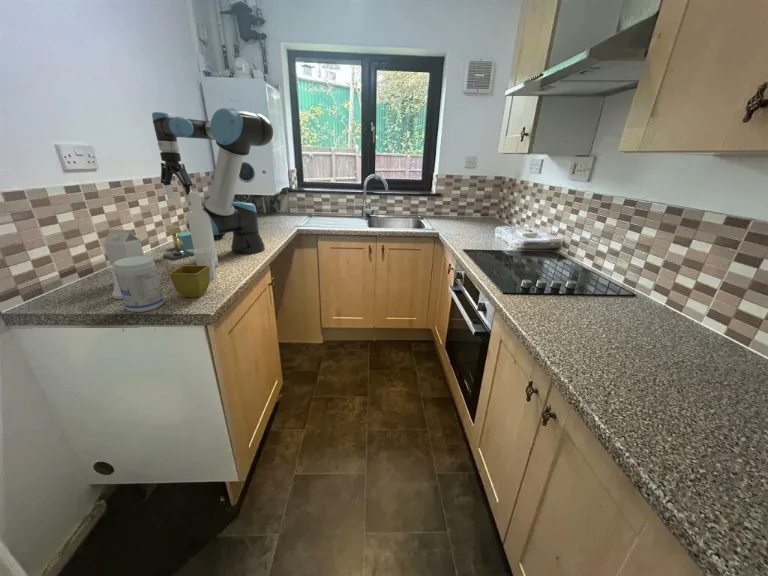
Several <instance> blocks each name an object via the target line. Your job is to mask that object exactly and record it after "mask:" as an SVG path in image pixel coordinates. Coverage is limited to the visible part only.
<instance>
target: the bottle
mask: <svg viewBox="0 0 768 576" xmlns="http://www.w3.org/2000/svg"><path fill="white" fill-rule="evenodd" d="M201 195H202V194H201V193H200V192H199V191H190V192H189V197H190V201H191V202H190V206H191V211H190V213H189V214H188V218H187V221H188V227H189V231H190V232H191V237H192V242H193V247H194V249H193V250H195V249H199V248H212V249H213V251H214V262H215V268H217V267H219V259H218V254H217V249H216V243H215V240H214V237H213V231H212V225H211V220H210V217H209V215H208V214H207V213H206V212H205V211H203V208H204V207H203V205H202V199H201V197H202V196H201ZM216 266H217V267H216Z"/></svg>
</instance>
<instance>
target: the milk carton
mask: <svg viewBox="0 0 768 576" xmlns="http://www.w3.org/2000/svg"><path fill="white" fill-rule="evenodd" d="M103 247H104V250H105V252H106V255H107V260H108V261H109V266H111V265H114V264H113V263H114V262H115V261H117V260H120V259H123V258H128V257H136V256H145V254H144V249H143V246H142V242H141V239H140V238H138V237H137V236H135V235H133V234H132V233H131V232H130V229H116V228H115V229H114V228H113V229H112V228H109V229H108V234H107V236H106V237H105V239H104V241H103Z"/></svg>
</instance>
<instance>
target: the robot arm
mask: <svg viewBox="0 0 768 576" xmlns="http://www.w3.org/2000/svg"><path fill="white" fill-rule="evenodd" d="M151 117H152V123H153V127H154V133H155V136H156V139H157V140H156V141H157V146H158V148H159V149H158V150H159V151H160V152H159V155H160V158H161V161H163V162H160V170H161V171H160V183H161V184H163V185H164V188H165V193H166V196H167V197H166V198H167V200H175V194H174V190H173V186H172V185H173V184H172V182H171V181H172V179H173V175H175V176H176V177H177V178H178V181H179V182H180V183H181V184H182V191H183V192H182V193H183V195H184V201H185V202H186V203H191V201H190V197H189V192H191V186H194V185H193V183H192V180H191V178H190V176H189V174H188V172H187V169H186V166H185V163H179V162H181V161H182V158H181V154H180V147H179V143H178V138H187V139H201V140H213V141H215V144H216V145H217V146H218V153H217V158H216V159H217V160H216V164H215V170H214V173H213V174H214V175H213V179H212V180H213V181H212V185H211V191H210V196H209V198H208V199H206V200H205V201H204V206H203V207H202V208H203V211H205V212H206V213H207V214H208V215H209V217H210V220H211V225H212V231H213V235H218V234H223V233H226V234H227V233H232V236H233V237H232V242H231V248H230V249H231V253H234V254H237V255H240V254H241V255H249V254H258V253H261V252H263V251H264V250H265V243H264V241H263V240H262V237H261V234H260V231H259V223H258V212H257V208H256V205H255V204H254V203H251V202H243V201H234V198H235V194H236V190H237V187H238V183H239V182H238V181H239V177H240V174H241V173H240V172H241V170H242V166H243V161H244V160H243V159H244V157H246V156H249V154H250V150H251V147H262V146H263V147H264V146H267V145H268V144H269V143H271V141H272V139H273V137H274V128H273V125H272V123H271V121H270V120H269V119H268V118H267V117H266V116H264V115H263V114H261V113H258V112H251V111H245V110H239V109H235V108H227V107H226V108H224V107H223V108H222V107H221V108H219V109H217V110H216V111H215V112H214V113H213V115H212V117H211V120H202V119H201V120H200V119H192V118H186V117H183V116H175V117H174V116H173V115H172V114H171V113H169V112H163V111H162V112H160V111H158V112H157V111H153V112H151Z"/></svg>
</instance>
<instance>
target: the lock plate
mask: <svg viewBox="0 0 768 576" xmlns="http://www.w3.org/2000/svg"><path fill="white" fill-rule="evenodd" d="M189 256H191V257H194V254H193V251H189V250H182V249H180V251H175V250H173V251H172V252H168V253H163V254H162V257H163V258H165V257H166V259H170V260H172V259H173V260H172V261H178V259H179V260H182V258H183V259H186V258H185V257H187V258H189Z"/></svg>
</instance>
